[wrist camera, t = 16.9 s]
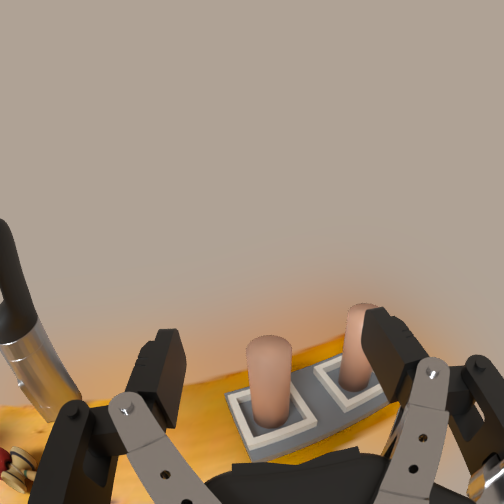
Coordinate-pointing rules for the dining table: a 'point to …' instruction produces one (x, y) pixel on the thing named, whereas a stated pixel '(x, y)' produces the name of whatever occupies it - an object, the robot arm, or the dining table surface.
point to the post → (269, 380)
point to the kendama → (17, 468)
